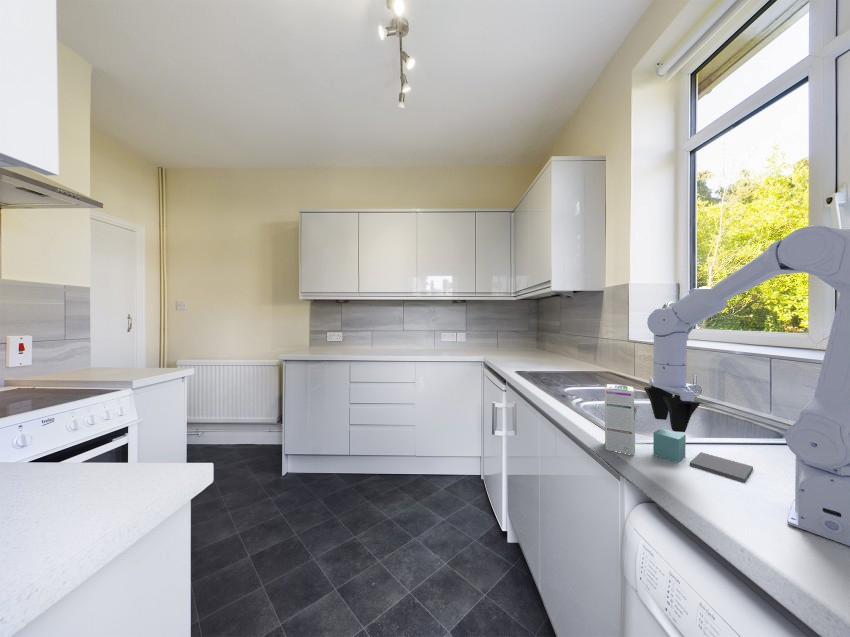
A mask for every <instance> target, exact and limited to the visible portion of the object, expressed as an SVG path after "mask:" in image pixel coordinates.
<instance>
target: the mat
mask: <svg viewBox="0 0 850 637" xmlns="http://www.w3.org/2000/svg"><path fill="white" fill-rule="evenodd" d="M689 466H690V467H694V468H697V469H701V470H704V471H708V472H711V473H714V474H717V475H721V476H723V477H726V478H730V479H733V480H737V481H740V482H743V483H745V482H746V481H747V480H748V478H749V476H750V475H751V473H752V471H753V470H754V466H752V465H750V464H749V465H748V464H745V463H742V462H738V461H735V460H731V459H727V458H723V457H720V456H716V455H713V454H709V453H706V452H702V451H701V452H700V453H698V454H696V456H695V457H694V458H693V459H692V460H690V461H689Z"/></svg>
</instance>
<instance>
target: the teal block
mask: <svg viewBox="0 0 850 637" xmlns="http://www.w3.org/2000/svg"><path fill="white" fill-rule="evenodd" d="M686 436H687V435H686V433H683V432H675V431H673V430H669V429H666V428H661V427H660V428H659V429H657V430H655V431H654V432H653V442H652V443H653V444H652V445H653V447H652V448H653V450H652V451H653V454H654V456H656V455H657V457H659V456H660V457H659V458H662V457H663V459H667V460H670V461H673V462H676V463H680V462H682V460H683V459H685V458H686V446H687V445H686V440H687V439H686ZM653 454H652V455H653Z"/></svg>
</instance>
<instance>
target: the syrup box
mask: <svg viewBox="0 0 850 637" xmlns="http://www.w3.org/2000/svg"><path fill="white" fill-rule="evenodd" d="M634 391H635V388H634V386H632V385H631V386H630V385H625V384H618V383H617V384H616V383H615V384H614V383H613V384H612V383H611V384H609V383H607V384H605V387H604V436H605V438H604V439H605V440H604V441H605V442H604V444H605V445H604V446H605V448H604V449H605V450H606V451H608V452H612V451H617V452H621V453H620V454H622V453H626V454H625V455H627V454H630V455H629V456H632V455H634V456H635V454H636V414H635V413H636V412H635V411H636V409H635V392H634ZM617 452H616V453H617Z"/></svg>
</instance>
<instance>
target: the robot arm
mask: <svg viewBox="0 0 850 637" xmlns="http://www.w3.org/2000/svg"><path fill="white" fill-rule="evenodd" d="M804 273H805V274H809V275H811V276H814V277H816V278H818V279H819V280H821V281H823V282H824V283H826V284H827V285H828V286H830V287H832V288H833V289H835V291H837V292H838V293H839V296H838V301H837V304H836V307H835V313H834V317H833V320H832V324H831V328H830V332H829V335H828V336H829V337H828V340H827V344H826V349H825V351H824V352H825V353H824V354H823V355H824V356H823V359H822V364H821V368H820V372H819V377H818V378H817V379H818V380H817V384H816V388H815V392H814V396H813V398H812V399H811V400H809V402H808V403H807V404H806V405H805V406H804V407H803V408H802V409H801V410H800V412H799V417H798V419H797V420H796V422H794V423H793V424H791V425H790V426H789V427H788V428H787V430H786V431H785V435H784V436H785V437H784V438H785V443H786V444H787V447H788V448H789V450H790V451H791V453H792V454H794V455H795V476H794V477H795V478H794V479H795V480H794V481H795V483H794V485H795V489H794V490H795V494H794V496H795V498H794V499H793V501H792V504H791V507H790V510H789V514H788V517H787V519H786V521H787V524H789V525H790V526H792V527H796V528H798V529H801V530H804V531H806V532H810V533H813V534H815V535H818V536H821V537H824V538H826V539H829V540H831V541H832V540H833V541H834V542H837V543H840V544H843V545H845V546H848V547H850V229H843V228H834V227H829V226H826V225H818V224H817V225H809V226H808V225H807V226H803V227H801V228H798V229H795V230H794V231H792V232H790V233H788V234H787V235H786V236H785V237H783V239H779V240H776V241H774V242H772V243H770V245H768V246H767V247H766V249H764V251H763V252H761V253H760V254H758V255H757V256H756V257H754V258H753V259H752V260H750V261H749V262H747V263H746V264H744V265H742V266H741V267H739V268H738V269H736V270H735V271H734V272H732V273H731V274H730V275H728V276H726V277H725V278H723V279H722V280H720V281H719V282H718V283H717V284H715V285H713V286H712V287H710V286H700V287H693V288H691V289H690V290H688V291H687V292H688V294H687V295H686V296H684V297H682V298H680V299H679V300H677V301H676V302H671V303H669V304H668V307H667V308H656V309H654V310H653V311H652V312H651V313H650V314H649V315H648V317H647V322H646V323H647V328H648V329H649V331H650V332H651V333H652V334H653V376H649V377H648V378H649V379H648V382H649V383H648V385H650V386H645V387H644V388H643V389H644V391H645V393H646V394H647V397H648V399H649V402H650V405H651V408H652V414H653V417H654V419H656V420H661V421H662V420H664V421H666V420H667V418H668V415H669V423H670V428H671V431H674V432H678V433H685V432H686V431H687V428H688V425H689V423H690V420H691V417H692V415H693V414H694V412H695V411H696V409H698V407H699V406H700V401H698V400H697V399H695V391H694V390H691V389H693V386H694V385H693V384H690V383H687V371H688V370H687V368H688V366H687V363H688V362H687V360H688V356H687V355H688V354H687V353H688V348H687V346H688V341H689V335H690V333H691V332H692V331H693V329H694V328H695V326H696V325H698V324H700V323H702V322H704V321H705V320H707V319H709V318H711V317H714V316H715V315H718V314H720V312H723V311H724V310H725V309H726V308H727V303H728V300H731V299H732V298H735V297H736V296H737V297H738V295H741V294H742V293H745V292H747V291H749V290H751V289H753V288H754V287H757V286H759V285H760V284H763V283H765V282H767V281H769V280H771V279H773V278H775V277H777V276H782V275H783V276H784V275H793V274H804Z"/></svg>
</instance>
